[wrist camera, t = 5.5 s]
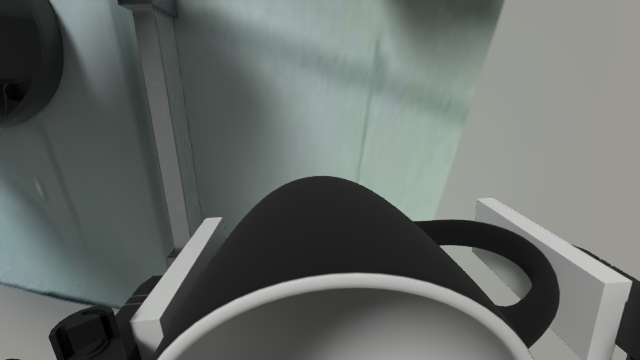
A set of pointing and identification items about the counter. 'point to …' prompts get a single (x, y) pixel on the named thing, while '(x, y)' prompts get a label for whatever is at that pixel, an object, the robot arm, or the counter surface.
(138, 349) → the robot arm
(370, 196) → the mug
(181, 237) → the rail
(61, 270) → the counter surface
